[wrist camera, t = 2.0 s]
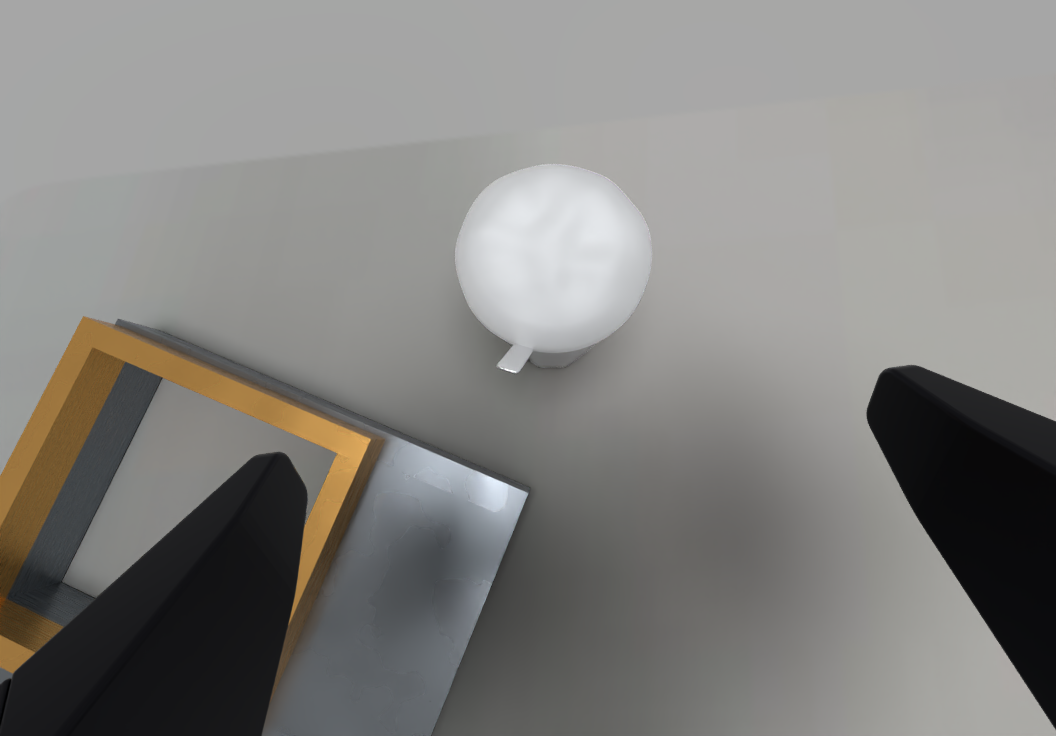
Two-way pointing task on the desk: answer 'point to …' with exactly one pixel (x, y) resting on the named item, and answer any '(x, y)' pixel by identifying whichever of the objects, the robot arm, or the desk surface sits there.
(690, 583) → the desk surface
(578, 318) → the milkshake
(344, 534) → the orange-framed metal plate
